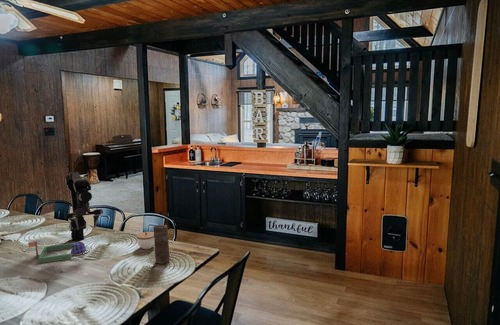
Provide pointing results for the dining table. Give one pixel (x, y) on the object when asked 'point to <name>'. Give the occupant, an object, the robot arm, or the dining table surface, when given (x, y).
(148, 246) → the lidded jar
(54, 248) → the frame
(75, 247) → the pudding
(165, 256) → the candle
